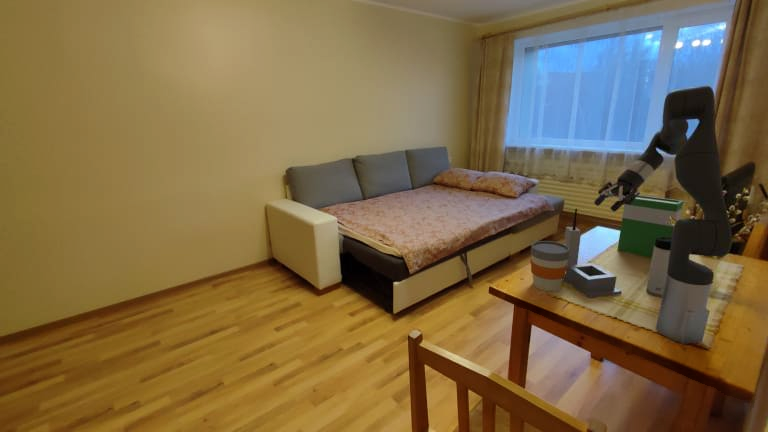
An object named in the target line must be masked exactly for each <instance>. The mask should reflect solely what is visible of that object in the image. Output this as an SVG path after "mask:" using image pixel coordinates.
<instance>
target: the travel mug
mask: <svg viewBox="0 0 768 432" xmlns="http://www.w3.org/2000/svg"><path fill="white" fill-rule="evenodd" d="M671 241H672V238H671V237H661V238H656V241H655V245H654V250H653V256H652V258H651V263H650V267H649V273H648V279H647V283H646V290H645V291H646V293H648V294H650V295H652V296H654V297H658V298H662V295H663V290H664V285H665V280H666V275H667V270H668V261H669V255H670V249H671Z"/></svg>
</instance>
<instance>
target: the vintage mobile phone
mask: <svg viewBox="0 0 768 432" xmlns="http://www.w3.org/2000/svg"><path fill="white" fill-rule="evenodd" d="M574 210H575V211H574V218H573V224H572V225H573V226H566V227H565V233H564V245H566V246H567V247H569V258H568V260H567V264H568V265H578V260H579V254H580V252H579V251H580V245H581V236H582V235H581V234H582V230H580V229H579V228H578V227H577V214H578V213H577V212H578V208H575V209H574ZM568 265H567V266H568Z"/></svg>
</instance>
